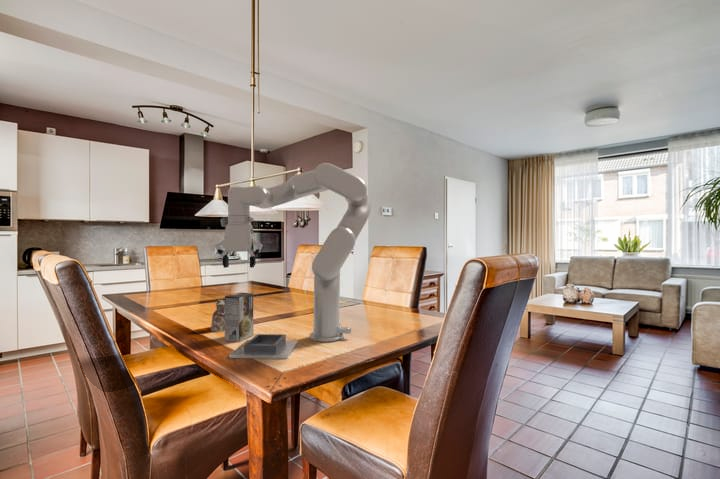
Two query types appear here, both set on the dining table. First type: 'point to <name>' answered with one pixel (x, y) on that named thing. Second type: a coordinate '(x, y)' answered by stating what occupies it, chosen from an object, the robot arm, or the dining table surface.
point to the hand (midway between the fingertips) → (239, 267)
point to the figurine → (219, 317)
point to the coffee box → (238, 316)
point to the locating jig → (265, 347)
